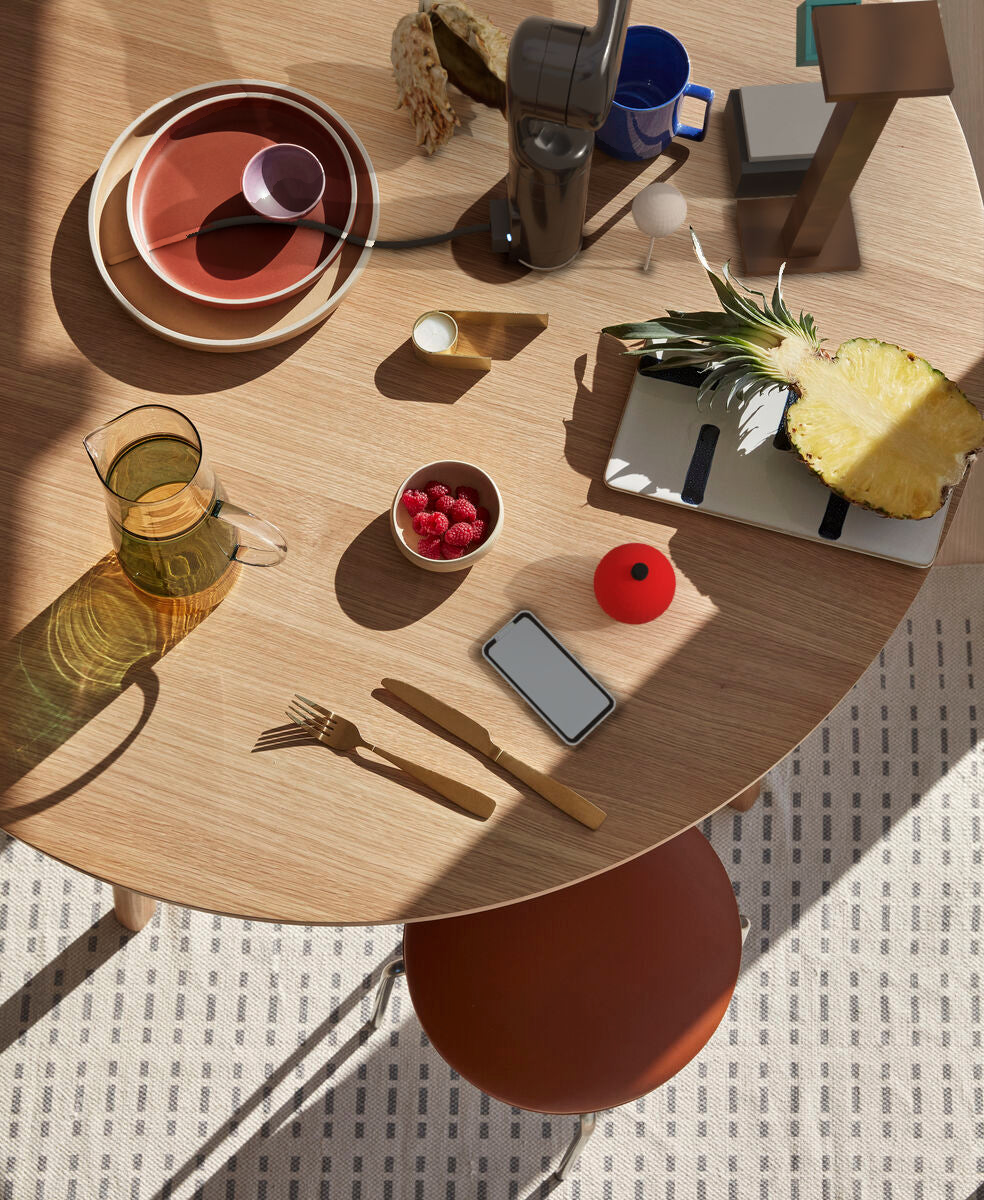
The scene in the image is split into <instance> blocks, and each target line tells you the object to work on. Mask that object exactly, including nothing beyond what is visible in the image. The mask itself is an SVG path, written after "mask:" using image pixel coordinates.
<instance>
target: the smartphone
mask: <svg viewBox="0 0 984 1200" xmlns="http://www.w3.org/2000/svg"><path fill="white" fill-rule="evenodd" d="M481 655H482V657H483V658H484V660H485V661H486V662H488V663H489V664H490V666H492V668H493V669H494V670H495V671H496V672H497V673H498V674H499V675H500V676H501V677H502V679H504V680H505V682H507V684H508V685H509V686H510V687H511V688H512V689H513V690H514V691H515V692H516V693H517V694H518V695H519V696H520V697H521V698H522V699H523V700H524V702H526V703H527V704H528V706H529V707H530V708H531V709H532V710H533V711H534V712H535V713H536V714H537V715H538V716H539V718H541V719H542V720H543V721H544V722H545V724H546V725H548V727H549V728H550V729H551V730H552V731H553V732H554V733H555V734H556V735H557V736H558V737H559V738H560V739H561V741H562V742H564V743H565V745H568V746H571V747H572V746H573V747H574V746H577V745H578V744H580V743H581V742H582V741H583V740H584V739H585V738H586V737H587V736H588V735H589V734H590V733H591V732H593V730H594V729H595V728H596V727H597V726H598V725H600V724H601V723H602V721H604V720H605V719H606V718H607V717H608V716H609V715H610V714H611V713H612V712H613V711H614V710H615V709H616V705H617V702H616V699H615V697H614V696H613V695H612V694H611V693H610V692H609V691H608V690H607V689H606V688H605V686H604V685H602V684H601V682H599V680H598V679H596V677H595V676H593V674H592V673H591V672H590V671H589V670H588V669H587V668H586V667H585V666H584V664H582V663H581V662H580V661H579V660H578V659H577V658H576V657H575V656H574V655H573V654H572V653H571V652H570V651H569V650H568V649H567V647H565V645H564V644H563V643H562V642H561V641H560V640H559V639H558V638H557V637H556V636H555V635H554V634H553V633H552V631H550V629H548V628H547V627H546V626H545V625H544V624H543V622H541V620H539V619H538V618H537V617H536V616H535V614H534V613H533V612H532V611H529V610H525V609H524V610H523V609H522V610H521V611H519V612H517V614H515V615H514V616H513V617H512V618H511V619H510V620H509V621H507V623H506V624H504V625H503V627H501V629H499V630H498V631H497V632H496V633H495V634H493V636H491V638H489V639H488V640H487V641H486V642H485V643H484V644H483V646H482V648H481Z"/></svg>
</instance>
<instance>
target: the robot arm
mask: <svg viewBox="0 0 984 1200" xmlns="http://www.w3.org/2000/svg"><path fill="white" fill-rule="evenodd" d="M596 1H597V13H598V14H597V20H596V23H595V25H594V26H589V25H586V24H580V23H576V22H571V21H570V22H569V21H566V20H562V19H556V18H551V17H548V16H547V17H546V16H542V15H529V16H527V17H525V18H524V19H522V21H521V22H520V23H519V24H518V25H517V27H516V29H515V30H514V33H513V35H512V36H511V40H510V44H509V46H508V50H509V51H508V56H507V65H506V81H505V83H506V104H507V116H508V122H507V142H508V172H507V173H506V180H505V189H506V190H505V198H497V199H489V200H488V201H489V222H486V223H480V224H473V225H467V226H461V227H458V228H454V229H452V230H449V231H448V232H445V233H442V234H438V235H433V236H428V237H424V238H423V237H422V238H417V239H408V240H394V241H392V240H378V239H377V240H376V239H374V240H375V242H374V245H373V246H372V249H379V250H380V249H382V250H404V249H405V250H406V249H414V248H421V247H427V246H432V245H436V244H442V243H445V242H448V241H451V240H453V239H456V238H459V237H462V236H465V235H467V236H468V235H471V234H479V233H484V232H490V236H491V237H490V238H491V250H492V253H493V254H498V253H499V254H500V253H501V254H502V253H508V262H509V263H511V264H512V263H518V264H520V265H521V266H523V267H525V268H527V269H529V270H532V271H535V272H540V273H542V272H543V273H548V272H555V271H558V270H562V269H564V268H565V267H567V266H569V265H570V264H571V263H573V261H575V260H576V258H577V257H578V256H579V254H580V252H581V250H582V247H583V241H584V231H585V229H584V227H585V220H586V214H587V213H586V212H587V205H588V196H589V188H590V180H591V173H592V165H593V157H594V151H595V142H596V134H595V132H597V131H598V130H600V129H601V128H602V127H603V126H604V124H605V123H606V121H607V119H608V117H609V114H610V112H611V109H612V106H613V103H614V99H615V96H616V92H617V87H618V83H619V77H620V72H621V68H622V63H623V56H624V51H625V45H626V40H627V35H628V28H629V23H630V17H631V12H632V6H633V0H596ZM258 215H259V214H255V215H242V216H241V215H240V216H233V217H228V218H222V219H219V220H214V221H212V222H213V223H211V222H210V223H211V224H212V225H214V227H210V228H207V229H204V230H201V231H198V232H195V233H192V234H189V235H188V236H187V235H186V236H187V238H188V239H191V238H194V237H197V236H200V235H202V234H205V233H209V232H212V231H216V230H219V229H224V228H227V227H233V226H239V225H240V226H241V225H250V224H281V225H287V226H288V225H289V226H297V227H302V228H308V229H311V230H312V229H313V230H317V231H320V232H324V233H327V234H329V235H331V236H334V237H336V238H339V239H341V235H342V233H343V231H344V230H342V229H340V228H337V227H334V226H332V225H329V224H327V223H323V222H320V221H316V220H311V219H307V218H300V219H298V220H297V221H294V222H289V221H287V222H275V221H270V220H266V219H264V218H262V217H260V216H258ZM207 224H208V223H207ZM208 225H210V224H208ZM212 225H210V226H212ZM215 225H218V226H215ZM187 238H186V239H185V240H188V239H187ZM366 239H367V238H364V237H360V236H357V235H354V234H352V233H349V234H348V235H347V237H346V238H345V240H344V241H346V242H349V243H351V244H354V245H358V246H361V247H365V241H366Z"/></svg>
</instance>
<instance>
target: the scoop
mask: <svg viewBox="0 0 984 1200" xmlns="http://www.w3.org/2000/svg"><path fill="white" fill-rule="evenodd" d="M862 2H863V1H862V0H804V1H803V2H801V3H800V4H799V5H798V6H796V9H795V10H796V14H795V15H796V18H795V19H796V22H795V25H796V26H795V68H803V67H819V62H818V56H817V50H816V44H815V38H814V32H813V26H812V20H811V14H812V12H813V9H814V7H825V6H841V5H858V4H862Z"/></svg>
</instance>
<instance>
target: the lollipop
mask: <svg viewBox="0 0 984 1200" xmlns="http://www.w3.org/2000/svg"><path fill="white" fill-rule="evenodd" d="M687 214H688V205H687V200H686V198H685V197H684V196H683V194H682V193H681V191H680V190H679V189H678V188H677V187H676V186H674V185H672V184H670V183H667V182H653V183H651V184H648V185H647V186H645V187H644V188H642V189H641V190H640V191H639V192H637V194H636V195H635V197H634V199H633V202H632V204H631V215H632V218H633V220H634V224H635V225H636V227H637V229H638V230H639V231H640V232H641V233H642V234H644V235H646V236H647V237H650V240H649V244H648V248H647V252H646V256H645V261H644V264H643V271H647V270H648V268H649V264H650V260H651V255H652V251H653V247H654V243H655V239H662V238H666V237H669V236H671V235H673V234H675V232H677V230H679V229H680V227H682V225H683V224H684V222H685V221H686V218H687Z"/></svg>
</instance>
